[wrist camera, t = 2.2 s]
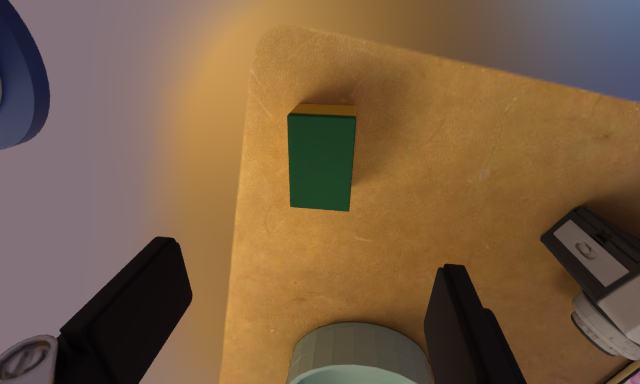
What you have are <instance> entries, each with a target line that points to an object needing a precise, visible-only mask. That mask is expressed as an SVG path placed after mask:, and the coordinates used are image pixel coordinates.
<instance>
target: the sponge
mask: <svg viewBox="0 0 640 384" xmlns="http://www.w3.org/2000/svg"><path fill="white" fill-rule="evenodd" d="M356 114H357V106H349V105H326V104H303V103H299V104H298V105H297V106H296V107H295V108H294V109H293V110H292V111H291V112H290V113H289V114H288V116H287V122H288V152H289V182H290V207H298V208H310V209H323V210H335V211H349V207H350V194H351V181H352V168H353V155H354V141H355V128H356Z"/></svg>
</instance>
